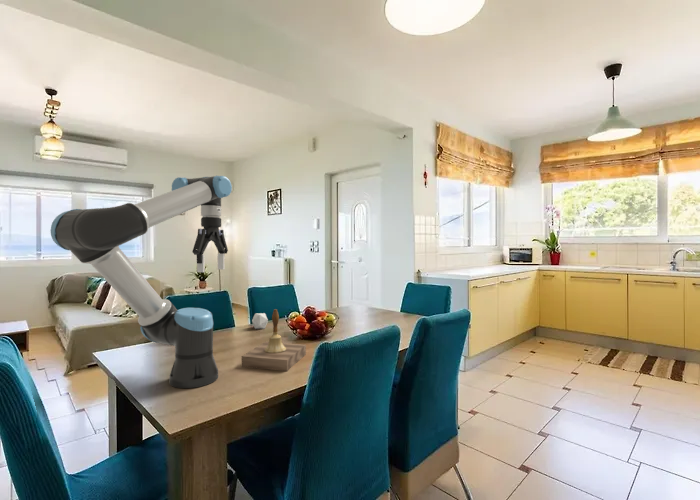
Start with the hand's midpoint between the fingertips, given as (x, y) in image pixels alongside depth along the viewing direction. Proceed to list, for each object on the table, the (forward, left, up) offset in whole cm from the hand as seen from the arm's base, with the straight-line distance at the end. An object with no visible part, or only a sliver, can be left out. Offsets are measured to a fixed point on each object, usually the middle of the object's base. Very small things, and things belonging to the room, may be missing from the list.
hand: (211, 270), depth 146 cm
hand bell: (+3, -26, -31) cm, 40 cm away
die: (+50, +4, -35) cm, 61 cm away
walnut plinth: (+3, -26, -35) cm, 43 cm away
